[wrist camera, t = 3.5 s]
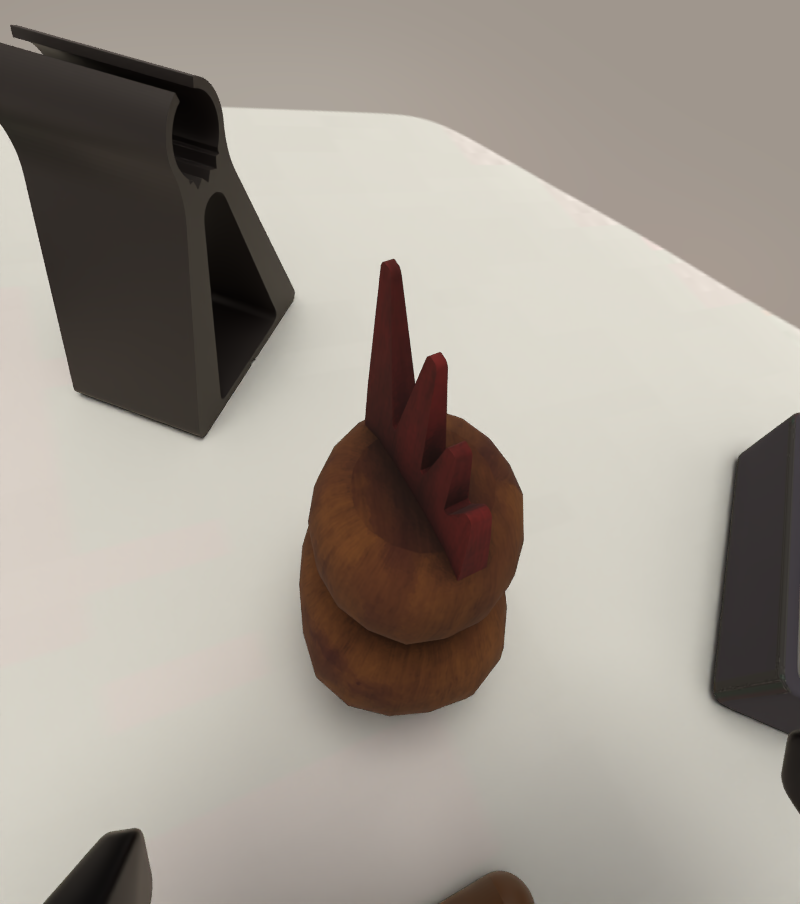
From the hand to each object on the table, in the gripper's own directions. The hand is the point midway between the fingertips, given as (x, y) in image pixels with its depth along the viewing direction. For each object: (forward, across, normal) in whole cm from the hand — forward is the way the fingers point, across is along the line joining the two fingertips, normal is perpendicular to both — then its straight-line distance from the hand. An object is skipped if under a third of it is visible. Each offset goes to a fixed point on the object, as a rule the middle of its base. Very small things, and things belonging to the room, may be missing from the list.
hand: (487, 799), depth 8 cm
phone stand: (+22, +8, -5) cm, 24 cm away
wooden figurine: (+12, 0, +5) cm, 13 cm away
